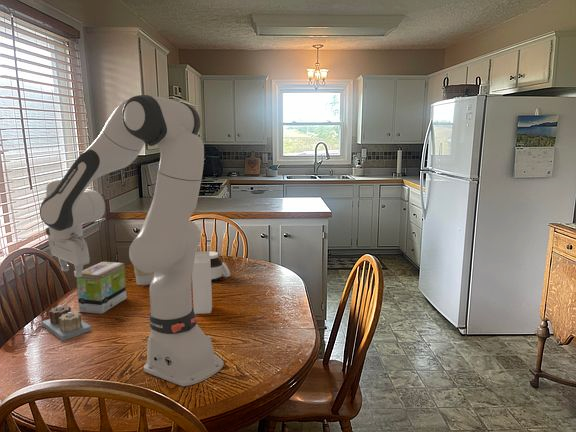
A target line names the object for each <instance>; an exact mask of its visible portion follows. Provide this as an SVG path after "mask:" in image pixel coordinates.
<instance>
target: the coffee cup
mask: <svg viewBox="0 0 576 432" xmlns="http://www.w3.org/2000/svg"><path fill="white" fill-rule="evenodd" d="M133 270H134V275H135V279H136V280H135V281H136V285H138V286H150V283H151V281H152V279H153V277H154V274H155V272H153V273H144V272H141V271H140V270H138V269H137V268H136V267H135V266H134V265H133Z"/></svg>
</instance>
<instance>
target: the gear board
mask: <svg viewBox="0 0 576 432" xmlns="http://www.w3.org/2000/svg"><path fill="white" fill-rule="evenodd" d="M62 306H63V305H62V304H61V305H57V306H56V307H57V309H58V311H61V310H62ZM72 313H73V312H72V311H71V312H68V313H67V314H68V318H70V317H73V314H72ZM81 321H82V326H80V329H76V330H73V331H71V332H70V331H65V332H62V330H60V324H54V323H51V322H50V318H49V319H45V320H42V321H41V324H42V327H44V328H45V329H46V330H47V331H49V332H50V333H52V334H53V335H55V336H56V337H57V338H58V339H60V340H61V341H66V340H70V339H71V338H74V337H77V336H80V335H82V334H85V333H88V332H91V331H92V325H90V324H88V323H87V322H85V321H84V320H82V319H81Z"/></svg>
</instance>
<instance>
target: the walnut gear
mask: <svg viewBox="0 0 576 432" xmlns="http://www.w3.org/2000/svg"><path fill="white" fill-rule="evenodd" d="M68 312H72V309H71V306H68V305H66V304H65V305H62V310H61V311H58V309H57V306H56V307H52V308H50V310H49V311H48V314H49V319H50V322H51V323H54V324H60V323H59V317H61V315H63V314H67V313H68Z"/></svg>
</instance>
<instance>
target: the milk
mask: <svg viewBox="0 0 576 432" xmlns="http://www.w3.org/2000/svg"><path fill="white" fill-rule="evenodd" d="M209 252H210V251H204V250H203V251H196V254H195V260H194V266H193V272H192V279H191V285H192V300H193V302H192V306H193V310H194V312H195V315H201V314H202V315H205V314H211V313H212V310H213V296H212V295H213V294H212V293H213V292H212V291H213V290H212V282H211V263H210V256H209Z"/></svg>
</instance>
